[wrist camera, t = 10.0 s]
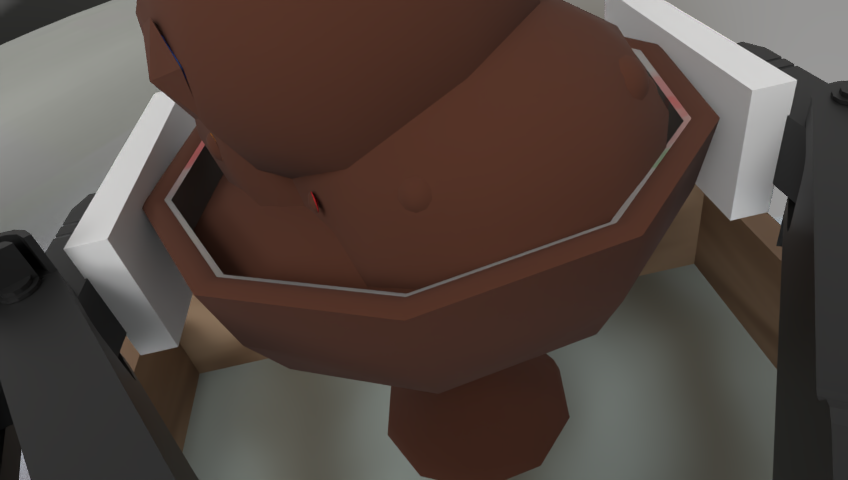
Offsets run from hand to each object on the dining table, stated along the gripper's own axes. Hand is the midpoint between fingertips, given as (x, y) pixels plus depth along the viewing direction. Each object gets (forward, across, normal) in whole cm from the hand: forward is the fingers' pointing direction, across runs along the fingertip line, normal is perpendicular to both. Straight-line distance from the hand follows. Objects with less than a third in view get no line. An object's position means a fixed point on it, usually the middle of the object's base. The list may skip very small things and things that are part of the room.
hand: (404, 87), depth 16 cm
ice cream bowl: (-4, 0, -9) cm, 10 cm away
